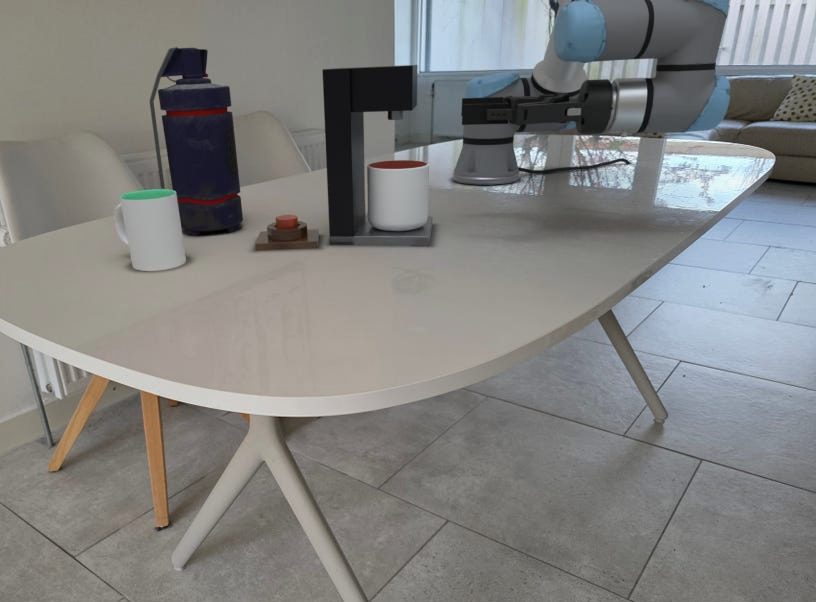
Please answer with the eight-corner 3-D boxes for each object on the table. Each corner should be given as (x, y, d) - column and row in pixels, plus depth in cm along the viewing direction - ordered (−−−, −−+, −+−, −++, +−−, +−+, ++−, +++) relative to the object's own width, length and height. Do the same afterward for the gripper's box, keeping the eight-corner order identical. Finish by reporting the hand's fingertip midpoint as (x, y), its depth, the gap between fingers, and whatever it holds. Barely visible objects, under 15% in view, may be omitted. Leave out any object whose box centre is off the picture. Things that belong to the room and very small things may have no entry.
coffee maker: (432, 225, 111) (436, 63, 99) (428, 245, 98) (433, 64, 87) (343, 224, 113) (338, 68, 102) (329, 245, 101) (322, 69, 90)
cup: (430, 232, 100) (432, 168, 96) (369, 234, 100) (367, 170, 96) (424, 218, 109) (425, 159, 105) (367, 220, 109) (366, 161, 105)
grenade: (238, 218, 121) (220, 47, 108) (248, 232, 111) (230, 44, 98) (166, 226, 118) (138, 50, 105) (169, 241, 107) (139, 47, 94)
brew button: (298, 224, 104) (298, 214, 103) (297, 230, 100) (296, 219, 100) (277, 225, 104) (276, 215, 103) (275, 230, 100) (274, 220, 100)
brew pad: (319, 236, 107) (318, 218, 105) (317, 248, 99) (316, 230, 98) (261, 238, 107) (259, 220, 106) (255, 250, 100) (253, 232, 98)
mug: (102, 264, 96) (88, 196, 91) (140, 251, 102) (129, 186, 98) (160, 273, 90) (148, 201, 86) (197, 258, 97) (187, 190, 92)
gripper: (623, 144, 82) (461, 147, 86) (588, 125, 104) (460, 127, 108) (633, 82, 79) (463, 88, 83) (595, 76, 101) (462, 80, 105)
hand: (461, 110), depth 95 cm, fingers open, 13 cm apart
